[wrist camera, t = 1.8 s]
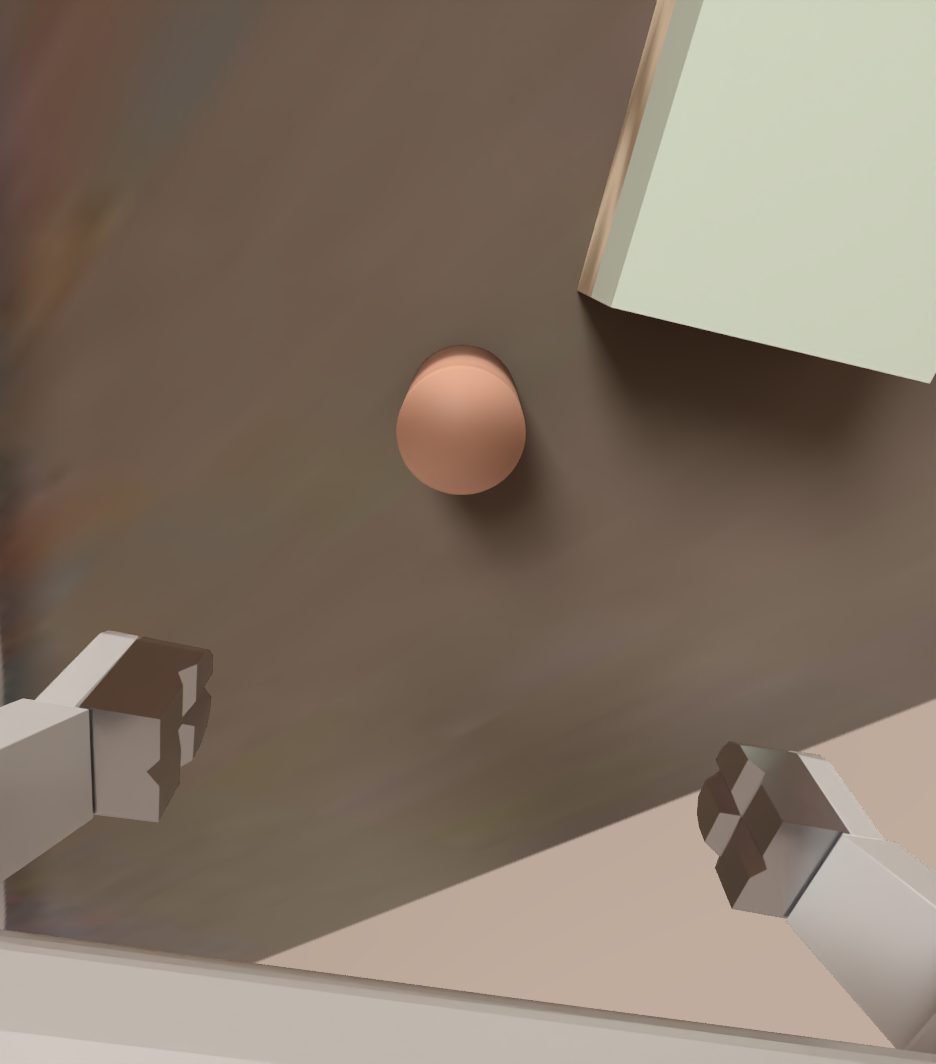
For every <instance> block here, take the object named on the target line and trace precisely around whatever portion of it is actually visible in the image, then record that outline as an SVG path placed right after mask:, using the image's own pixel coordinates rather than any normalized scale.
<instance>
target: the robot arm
mask: <svg viewBox="0 0 936 1064" xmlns="http://www.w3.org/2000/svg"><path fill="white" fill-rule="evenodd" d="M212 673H213V654H212V652H211V651H210V650H208V649H203V648H198V647H193V646H188V645H183V644H178V643H173V642H168V641H163V640H158V639H153V638H148V637H140V636H136V635H130V634H125V633H120V632H114V631H106V632H103V633H100V634H99V635H98V636H97V637H96V638H95V639H94V640H93V641H92V642H91V643H90V644H89V645H88V646H87V647H86V648H85V649H84V650H83V651H82V652H81V653H80V654H79V655H78V656H77V657H76V658H75V659H74V660H73V661H72V662H71V663H70V664H69V665H68V666H67V667H66V669H65V670H64V671H63V672H62V673H61V674H60V675H59V676H58V677H57V678H56V679H55V680H54V681H53V682H52V683H51V684H50V685H49V686H48V687H47V688H46V689H45V690H44V691H43V692H42V693H41V694H40V695H39V696H38V697H37V698H36V699H35V700H29V699H21V700H18V701H16V702H13V703H10V704H8V705H5V706H3V707H0V883H1V882H2V881H4V880H5V879H6V878H8V877H9V876H11V875H12V874H14V873H15V872H16V871H18V870H19V869H21V868H22V867H24V866H25V865H26V864H28V863H29V862H31V861H32V860H34V859H35V858H37V857H38V856H39V855H41V854H42V853H44V852H45V851H47V850H48V849H49V848H51V847H52V846H54V845H55V844H57V843H58V842H59V841H61V840H62V839H64V838H65V837H67V836H68V835H69V834H71V833H72V832H74V831H75V830H77V829H78V828H80V827H81V826H82V825H84V824H85V823H87V822H88V821H90V820H91V819H92V818H93V814H95V815H103V816H111V817H119V818H128V819H136V820H144V821H152V822H159V820H160V818H161V817H162V815H163V813H164V811H165V809H166V808H167V806H168V804H169V802H170V800H171V799H172V797H173V795H174V793H175V791H176V789H177V788H178V786H179V784H180V767H181V766H183V765H185V764H186V763H188V762H190V761H191V760H193V758H194V756H195V754H196V752H197V750H198V749H199V747H200V745H201V742H202V739H203V736H204V733H205V730H206V728H207V724H208V719H209V714H210V707H211V696H210V694H209V693H208V691H207V690H206V688H205V685H206V683H207V682H208V680H209V678H210V677H211V675H212ZM716 762H717V765H718V768H719V772H718V773H716V774H715V775H713V776H711V777H710V778H708V779H707V780H705V782H704V785H703V787H702V789H701V792H700V794H699V797H698V808H697V816H698V822H699V828H700V830H701V833H702V836H703V838H704V841H705V842H706V843H707V844H708V845H709V846H710V847H711V848H712V849H713V850H714V851H715V852H716V853H717V854H718V855H719V858H718V861H717V864H716V867H715V869H716V871H717V873H718V876H719V878H720V881H721V883H722V886H723V888H724V891H725V893H726V896H727V898H728V900H729V902H730V905H731V908H732V909H736V910H743V911H747V912H753V913H758V914H764V915H770V916H775V917H781V918H786V919H787V920H786V922H787V924H788V925H789V926H790V927H791V928H792V929H793V930H794V932H795V933H796V934H797V935H798V936H799V937H800V939H801V940H802V941H803V942H804V943H805V944H806V946H807V947H808V948H809V949H810V950H811V951H812V952H813V953H814V955H815V956H816V957H817V958H818V959H819V960H820V962H821V963H822V964H823V965H824V966H825V967H826V968H827V970H828V971H829V972H830V973H831V974H832V975H833V976H834V978H835V979H836V980H837V981H838V982H839V983H840V985H841V986H842V987H843V988H844V989H845V990H846V991H847V993H848V994H849V995H850V996H851V997H852V998H853V1000H854V1001H855V1002H856V1003H857V1004H858V1005H859V1006H860V1007H861V1009H862V1010H863V1011H864V1012H865V1013H866V1015H867V1016H868V1017H869V1018H870V1019H871V1020H872V1021H873V1023H874V1024H875V1025H876V1026H877V1027H878V1028H879V1029H880V1031H881V1032H882V1033H883V1034H884V1035H885V1036H886V1037H887V1039H888V1040H889V1041H890V1042H891V1043H892V1044H893V1046H894V1047H895V1048H896V1049H894V1048H886V1047H879V1046H872V1045H864V1044H857V1043H849V1042H842V1041H834V1040H827V1039H820V1038H812V1037H805V1036H796V1035H789V1034H782V1033H774V1032H767V1031H759V1030H751V1029H743V1028H736V1027H729V1026H721V1025H714V1024H706V1023H698V1022H691V1021H683V1020H675V1019H668V1018H660V1017H652V1016H645V1015H638V1014H630V1013H622V1012H615V1011H607V1010H600V1009H593V1008H584V1007H577V1006H570V1005H562V1004H555V1003H546V1002H540V1001H533V1000H525V999H518V998H510V997H502V996H495V995H487V994H480V993H473V992H466V991H458V990H450V989H443V988H436V987H427V986H421V985H413V984H406V983H398V982H391V981H383V980H376V979H368V978H361V977H353V976H346V975H338V974H331V973H323V972H316V971H308V970H301V969H293V968H286V967H278V966H270V965H263V964H256V963H248V962H241V961H233V960H226V959H218V958H211V957H203V956H196V955H188V954H181V953H173V952H166V951H158V950H151V949H143V948H135V947H128V946H120V945H113V944H105V943H98V942H90V941H83V940H75V939H68V938H60V937H53V936H45V935H38V934H30V933H23V932H15V931H8V930H0V1064H936V872H934V871H933V870H932V869H930V868H929V867H928V866H926V865H925V864H924V863H922V862H921V861H920V860H918V859H917V858H916V857H914V856H913V855H912V854H910V853H909V852H908V851H906V850H905V849H904V848H902V847H901V846H899V845H898V844H897V843H896V842H892V841H886V840H885V839H884V838H883V836H882V835H881V833H880V832H879V831H878V829H877V828H876V826H875V825H874V824H873V822H872V821H871V819H870V818H869V817H868V815H867V814H866V813H865V811H864V810H863V808H862V807H861V805H860V804H859V803H858V801H857V800H856V799H855V797H854V796H853V794H852V793H851V791H850V790H849V789H848V787H847V786H846V785H845V783H844V782H843V780H842V779H841V778H840V776H839V775H838V773H837V772H836V770H835V769H834V768H833V766H832V765H831V763H830V762H829V761H828V760H826V759H825V758H823V757H822V756H820V755H816V754H809V753H802V752H796V751H783V750H778V749H772V748H766V747H760V746H754V745H748V744H742V743H736V742H730V741H729V742H728V743H727V744H726V745H725V746H723V747H722V749H721V751H720V753H719V754H718V756H717V758H716Z"/></svg>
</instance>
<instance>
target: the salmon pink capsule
mask: <svg viewBox="0 0 936 1064" xmlns="http://www.w3.org/2000/svg"><path fill="white" fill-rule="evenodd" d="M396 430H397V442H398V447H399V450H400V454H401V456H402V458H403V460H404V462H405V464H406V465H407V467H408V468H409V469H410V471H411V472H412V473H413V474H414V475H415V476H416V477H417V478H418V479H419V480H420V481H422V482H423V483H424V484H426V485H428V486H429V487H431V488H433V489H435V490H438V491H440V492H444V493H448V494H455V495H468V494H475V493H479V492H482V491H485V490H488V489H490V488H492V487H494V486H496V485H497V484H499V483H500V482H501V481H503V480H504V479H505V478H506V477H507V476H508V475H509V474H510V473H511V472H512V471H513V469H514V468H515V466H516V465H517V463H518V461H519V459H520V457H521V455H522V452H523V449H524V445H525V439H526V426H525V420H524V415H523V412H522V408H521V405H520V402H519V398H518V395H517V391H516V388H515V384H514V381H513V379H512V376H511V374H510V372H509V371H508V369H507V368H506V366H505V365H504V364H503V363H502V362H501V360H500V359H498V358H497V357H496V356H495V355H493V354H492V353H490V352H489V351H486V350H484V349H482V348H479V347H476V346H470V345H456V346H450V347H446V348H444V349H441V350H439V351H437V352H436V353H434V354H433V355H431V356H430V357H429V358H427V359H426V360H425V361H424V362H423V364H422V365H421V366H420V368H419V369H418V371H417V372H416V374H415V376H414V379H413V381H412V383H411V386H410V388H409V391H408V393H407V395H406V398H405V400H404V403H403V405H402V408H401V410H400V413H399V416H398V420H397V429H396Z"/></svg>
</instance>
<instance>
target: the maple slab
mask: <svg viewBox="0 0 936 1064" xmlns="http://www.w3.org/2000/svg"><path fill="white" fill-rule="evenodd" d="M675 2H676V0H657V4H656V7H655V11H654V14H653V18H652V22H651V25H650V29H649V32H648V36H647V40H646V43H645V47H644V51H643V54H642V58H641V61H640V65H639V69H638V72H637V76H636V80H635V83H634V87H633V90H632V94H631V98H630V101H629V105H628V108H627V112H626V116H625V119H624V123H623V127H622V130H621V134H620V137H619V141H618V145H617V148H616V152H615V155H614V159H613V163H612V166H611V170H610V174H609V177H608V181H607V184H606V188H605V192H604V195H603V199H602V202H601V206H600V210H599V213H598V217H597V221H596V224H595V228H594V231H593V235H592V239H591V242H590V246H589V249H588V253H587V257H586V260H585V264H584V268H583V271H582V275H581V278H580V282H579V286H578V289H577V291H579V292H581V293H583V294H585V295H587V296H589V297H591V295H592V292H593V288H594V285H595V281H596V278H597V274H598V271H599V267H600V264H601V260H602V257H603V253H604V250H605V246H606V243H607V240H608V236H609V233H610V229H611V226H612V222H613V219H614V215H615V212H616V208H617V205H618V201H619V198H620V194H621V191H622V187H623V184H624V180H625V177H626V173H627V170H628V166H629V163H630V159H631V156H632V152H633V149H634V145H635V142H636V138H637V135H638V131H639V128H640V124H641V121H642V117H643V114H644V110H645V107H646V103H647V100H648V96H649V93H650V90H651V86H652V83H653V79H654V76H655V72H656V69H657V65H658V62H659V58H660V55H661V51H662V48H663V44H664V41H665V37H666V34H667V30H668V27H669V23H670V20H671V16H672V13H673V9H674V6H675Z"/></svg>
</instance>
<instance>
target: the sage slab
mask: <svg viewBox="0 0 936 1064" xmlns="http://www.w3.org/2000/svg"><path fill="white" fill-rule="evenodd" d="M591 298H593V299H595V300H597V301H599V302H601V303H603V304H605V305H607V306H609V307H612V308H616V309H620V310H624V311H629V312H633V313H637V314H641V315H645V316H650V317H654V318H658V319H662V320H666V321H670V322H675V323H679V324H683V325H687V326H691V327H696V328H700V329H704V330H708V331H712V332H716V333H721V334H725V335H729V336H733V337H737V338H742V339H746V340H750V341H754V342H758V343H762V344H767V345H771V346H775V347H779V348H783V349H788V350H792V351H796V352H800V353H804V354H808V355H813V356H817V357H821V358H825V359H829V360H833V361H838V362H842V363H846V364H850V365H854V366H859V367H863V368H867V369H871V370H875V371H879V372H884V373H888V374H892V375H896V376H900V377H905V378H909V379H913V380H917V381H921V382H925V383H930V382H931V380H932V378H933V377H934V375H935V373H936V0H676V2H675V6H674V9H673V13H672V16H671V20H670V23H669V27H668V30H667V34H666V37H665V41H664V44H663V48H662V51H661V55H660V58H659V62H658V65H657V69H656V72H655V76H654V79H653V83H652V86H651V90H650V93H649V96H648V100H647V103H646V107H645V110H644V114H643V117H642V121H641V124H640V128H639V131H638V135H637V138H636V142H635V145H634V149H633V152H632V156H631V159H630V163H629V166H628V170H627V173H626V177H625V180H624V184H623V187H622V191H621V194H620V198H619V201H618V205H617V208H616V212H615V215H614V219H613V222H612V226H611V229H610V233H609V236H608V240H607V243H606V246H605V250H604V253H603V257H602V260H601V264H600V267H599V271H598V274H597V278H596V281H595V285H594V288H593V292H592V295H591Z"/></svg>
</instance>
